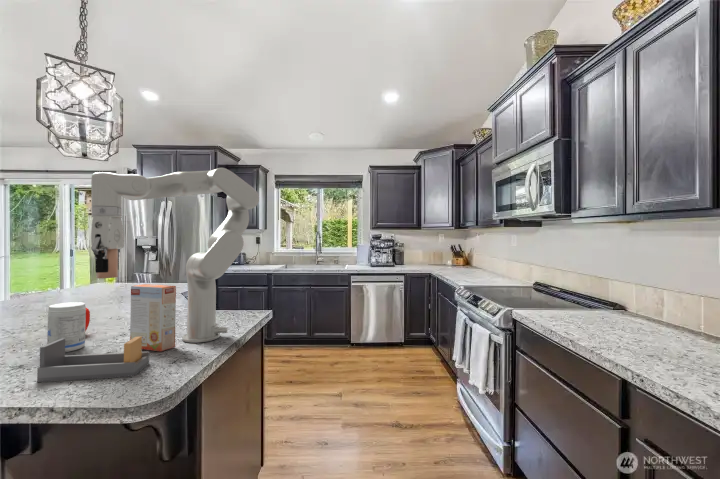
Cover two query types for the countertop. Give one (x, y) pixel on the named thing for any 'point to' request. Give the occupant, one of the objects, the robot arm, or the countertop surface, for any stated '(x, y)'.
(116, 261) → the terracotta jar
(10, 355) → the countertop surface
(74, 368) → the pusher lane
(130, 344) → the lane pusher
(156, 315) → the cracker box
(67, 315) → the supplement tub
